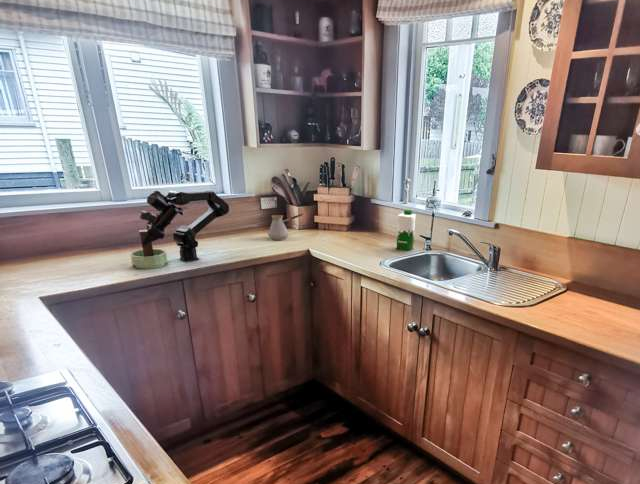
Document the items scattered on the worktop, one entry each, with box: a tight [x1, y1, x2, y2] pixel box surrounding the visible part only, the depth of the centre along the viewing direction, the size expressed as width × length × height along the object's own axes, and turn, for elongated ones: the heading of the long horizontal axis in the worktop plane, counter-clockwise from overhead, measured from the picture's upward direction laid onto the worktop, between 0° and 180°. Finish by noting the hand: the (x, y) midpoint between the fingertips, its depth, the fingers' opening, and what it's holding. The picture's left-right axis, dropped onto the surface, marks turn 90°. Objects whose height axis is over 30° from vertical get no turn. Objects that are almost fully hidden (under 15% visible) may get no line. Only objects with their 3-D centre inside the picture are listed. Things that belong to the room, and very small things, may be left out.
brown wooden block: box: [138, 229, 154, 257], centre depth 205 cm, size 4×4×12 cm
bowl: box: [129, 248, 168, 270], centre depth 208 cm, size 15×15×6 cm
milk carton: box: [396, 209, 417, 252], centre depth 248 cm, size 9×9×20 cm
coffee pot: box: [267, 213, 304, 241], centre depth 260 cm, size 21×12×15 cm, turn 78°
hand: (143, 243), depth 205 cm, fingers closed on brown wooden block, 4 cm apart
